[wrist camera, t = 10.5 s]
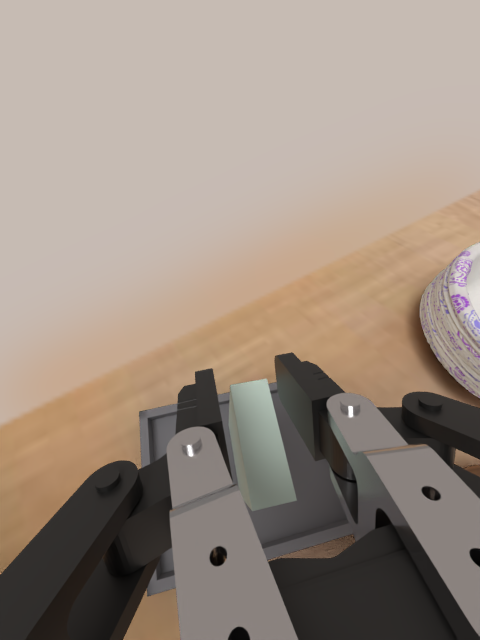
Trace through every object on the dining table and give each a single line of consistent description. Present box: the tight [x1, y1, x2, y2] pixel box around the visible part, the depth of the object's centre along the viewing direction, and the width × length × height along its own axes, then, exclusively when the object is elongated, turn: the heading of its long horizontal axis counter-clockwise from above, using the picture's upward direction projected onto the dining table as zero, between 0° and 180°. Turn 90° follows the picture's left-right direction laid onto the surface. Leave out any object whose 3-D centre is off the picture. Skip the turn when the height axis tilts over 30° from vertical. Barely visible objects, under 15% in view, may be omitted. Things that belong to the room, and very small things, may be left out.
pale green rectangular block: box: [229, 379, 297, 511], centre depth 16 cm, size 2×5×11 cm, turn 11°
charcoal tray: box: [139, 382, 353, 596], centre depth 21 cm, size 15×11×2 cm
